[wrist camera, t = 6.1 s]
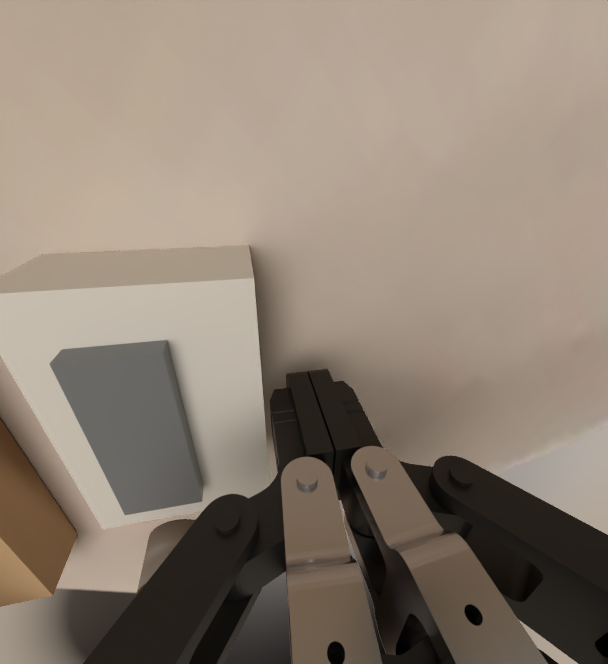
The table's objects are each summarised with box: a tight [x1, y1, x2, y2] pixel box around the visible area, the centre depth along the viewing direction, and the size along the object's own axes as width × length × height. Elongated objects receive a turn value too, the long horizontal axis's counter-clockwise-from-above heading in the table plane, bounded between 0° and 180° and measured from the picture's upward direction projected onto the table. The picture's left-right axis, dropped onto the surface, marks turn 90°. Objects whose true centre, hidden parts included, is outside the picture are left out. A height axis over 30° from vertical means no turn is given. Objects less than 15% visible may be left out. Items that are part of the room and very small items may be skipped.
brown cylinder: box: [136, 520, 195, 596], centre depth 13 cm, size 3×3×9 cm
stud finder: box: [0, 245, 270, 529], centre depth 10 cm, size 6×9×4 cm, turn 0°
